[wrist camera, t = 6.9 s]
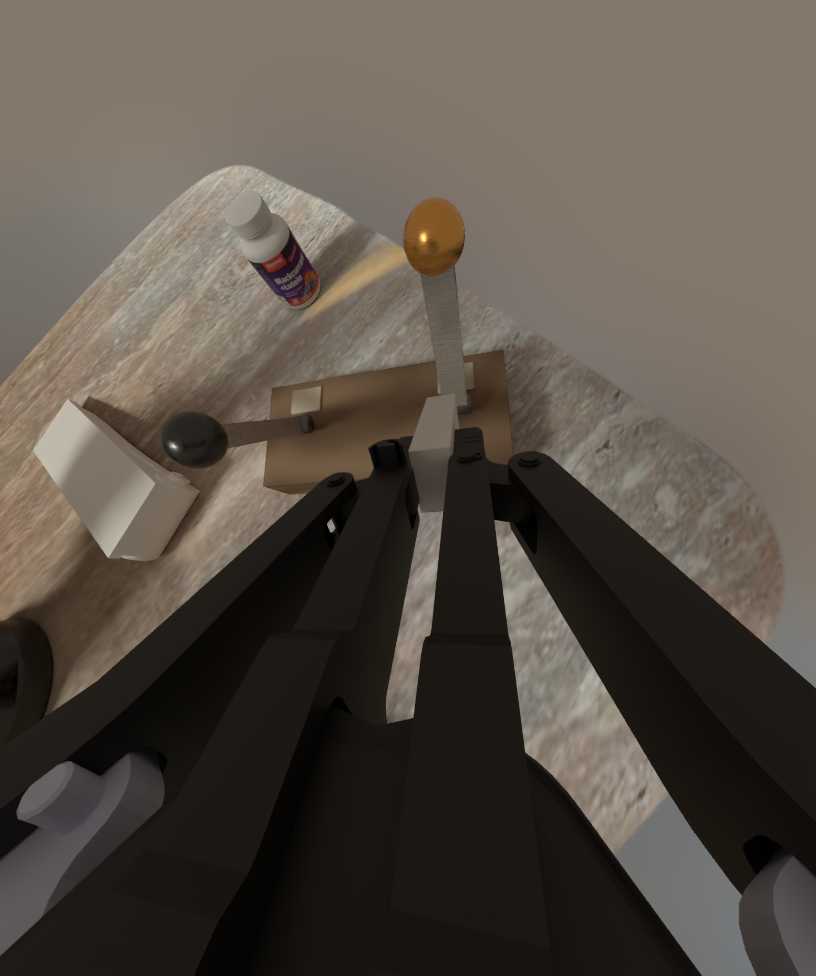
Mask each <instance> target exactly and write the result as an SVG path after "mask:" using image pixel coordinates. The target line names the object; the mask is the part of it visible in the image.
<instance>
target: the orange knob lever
mask: <svg viewBox="0 0 816 976" xmlns="http://www.w3.org/2000/svg"><path fill="white" fill-rule="evenodd" d="M464 239H465V230H464V224H463V220H462V218H461V215H460V213H459V212H458V210H457V209H456V207H455V206H454V205H453V204H451V203H450V202H449V201H447V200H445V199H442V198H430V199H427V200H424V201H423V202H421V203H420V204H418V205H417V206H416V207H415V208H414V209H413V211H412V212H411V213H410V215H409V217H408V220H407V222H406V225H405V229H404V237H403V241H404V242H403V243H404V250H405V253H406V256H407V259H408V261H409V263H410V264H411V265H412V267H413V268H414V269H415V270H416V271H418V272H419V273H420V274H421V280H422V286H423V292H424V298H425V303H426V309H427V315H428V321H429V327H430V333H431V339H432V344H433V350H434V356H435V362H436V368H437V374H438V380H439V385H440V391H441V396H442V395H448V394H455V397H456V406H457V415H464V414H472V402H471V392H468V393H467V390H466V380H465V370H464V359H463V349H462V338H461V328H460V318H459V307H458V297H457V287H456V276H455V266H454V265H455V264H456V263H457V261H458V259H459V258H460V255H461V253H462V250H463V246H464Z"/></svg>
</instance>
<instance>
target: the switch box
mask: <svg viewBox="0 0 816 976" xmlns="http://www.w3.org/2000/svg"><path fill="white" fill-rule="evenodd" d="M463 359H464V370H465V380H466V390H467V393H468V392H471V402H472V414H464V415H458V423H459V429H463V428H471V427H478V428H480V429H481V430H482V432H483V440H484V448H485V455H486V458H487V459H488V460H489V461H491V462H494V463H497V464H507V465H508V461H509V459H510V458H511V457H512V456H513V450H512V439H511V428H510V417H509V406H508V396H507V385H506V374H505V363H504V352H503V350H499V351H493V352H487V353H481V354H475V355H469V356H463ZM435 396H441V391H440V385H439V380H438V374H437V368H436V362H435V361H433V362H427V363H421V364H415V365H409V366H403V367H397V368H391V369H385V370H379V371H373V372H367V373H361V374H355V375H349V376H343V377H337V378H331V379H325V380H319V381H313V382H307V383H300V384H294V385H288V386H282V387H276V388H272V397H271V408H270V419H269V420H273V419H282V418H287V417H295V416H302V415H310V416H311V417H312V419H313V421H314V431H313V433H308V434H300V435H292V436H287V437H282V438H277V439H272V440H267V451H266V462H265V472H264V483H263V486H264V487H267V488H271V489H274V490H277V491H280V492H283V493H287V494H303V493H309V492H310V491H311V490H312V489H313V488H314V487H315V486H316V485H318V484H319V483H320V482H321V481H322V480H323V479H325V478H326V477H328V476H330V475H332V474H334V473H338V472H347V473H351V474H352V475H353V477H354V480H355V481H358V480H362V479H366V478H369V477H370V475H371V473H372V471H373V469H374V467H373V463H372V460H371V456H370V453H369V450H368V448H369V447H370V446H371V445H373V444H374V443H376V442H379V441H382V440H386V439H399V438H401V437H406V436H414V434H415V431H416V428H417V425H418V422H419V419H420V416H421V413H422V411H423V408H424V405H425V402H426V399H427V398H429V397H435Z"/></svg>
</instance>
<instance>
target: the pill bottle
mask: <svg viewBox="0 0 816 976" xmlns="http://www.w3.org/2000/svg"><path fill="white" fill-rule="evenodd" d="M225 217H226V221H227V223H228V224H229V225H230V227H231V228H232V229H233V231H234V232H235V233H236V235H237V236H238V237H240V246H241V250H242V252H243V254H244V255H245V256H246V258H247V259H248V261H249V262H250V263H251V264H252V266H253V267H254V268H255V269H256V271H257V272H258V273H259V274H260V276H261V277H262V278H263V279H264V280H265V282H266V283H267V284H268V285H269V287H270V288H271V289H272V290H273V292H274V293H275V294H276V295H277V297H278V298H279V299H280V301H281V302H282V303H283V304H284V305H285V306H286V307H288V308H290V309H293V310H298V309H303V308H305V307H307V306H309V305H310V304H311V303H312V302H313V301H314V300H315V299H316V298H317V296H318V294H319V291H320V286H321V285H320V280H319V278H318V276H317V274H316V272H315V270H314V269H313V267H312V266H311V264H310V262H309V260H308V259H307V257H306V256H305V254H304V252H303V251H302V249H301V247H300V246H299V244H298V242H297V241H296V239H295V237H294V235H293V234H292V232H291V230H290V229H289V227H288V225H287V224H286V222H285V221H284V220H283V219H282V218H281V217H280V216H279V215H277V214H274V213H271V212H270V210H269V208H268V206H267V205H266V203H265V202H264V200H263V199H262V197H261V196H260V194H259V193H257V192H255V191H247V192H244V193H242V194H240V195H238V196H237V197H236V198H234V199H233V200H232V201H231V203H230V204H229V206H228V208H227V210H226V214H225Z"/></svg>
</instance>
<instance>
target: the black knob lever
mask: <svg viewBox="0 0 816 976" xmlns="http://www.w3.org/2000/svg"><path fill="white" fill-rule="evenodd" d="M313 431H314V421H313V419H312V417H311V416H310V415H302V416H295V417H287V418H282V419H273V420H263V421H253V422H243V423H233V424H223V425H221V424H220V423H219V422H218V421H217V420H216V419H214V418H212V417H211V416H209V415H206V414H204V413H200V412H183V413H179V414H176V415H174V416H172V417H171V418H169V419H168V420H167V421H166V422H165V423H164V425H163V427H162V429H161V431H160V444H161V447H162V449H163V451H164V453H165V454H166V455H167V456H168V457H169V458H170V459H171V460H172V461H174V462H175V463H177V464H179V465H181V466H184V467H187V468H193V469H202V468H207V467H210V466H213V465H215V464H216V463H218V462H219V461H220V460H221V459H222V458H223V457H224V456H225V454H226V452H227V449H228V448H231V447H236V446H242V445H247V444H252V443H257V442H262V441H267V440H272V439H277V438H282V437H287V436H292V435H300V434H308V433H313Z"/></svg>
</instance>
